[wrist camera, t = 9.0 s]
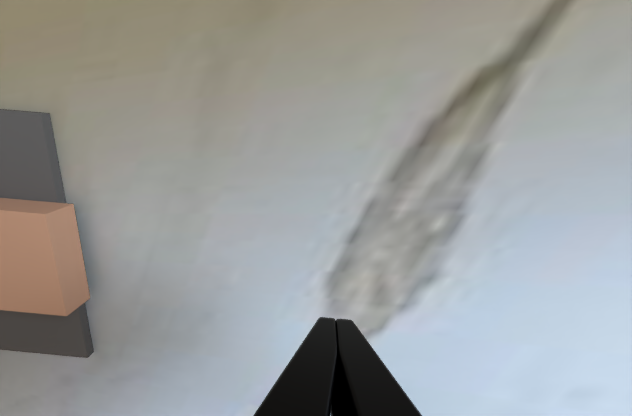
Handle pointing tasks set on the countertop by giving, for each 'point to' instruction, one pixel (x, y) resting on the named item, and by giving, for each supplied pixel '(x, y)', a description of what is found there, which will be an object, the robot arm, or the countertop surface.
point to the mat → (37, 185)
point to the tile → (40, 258)
